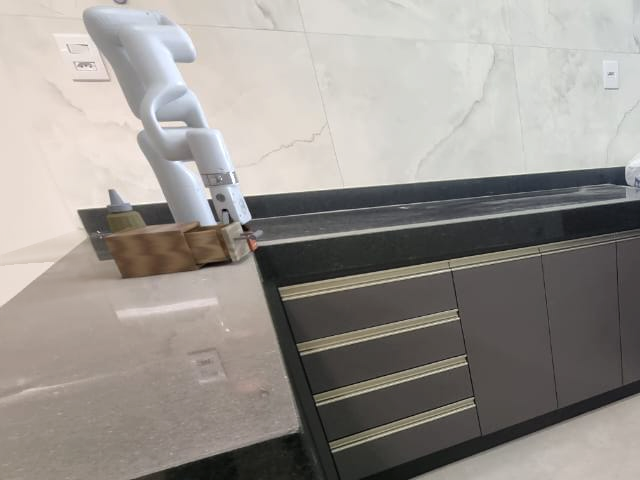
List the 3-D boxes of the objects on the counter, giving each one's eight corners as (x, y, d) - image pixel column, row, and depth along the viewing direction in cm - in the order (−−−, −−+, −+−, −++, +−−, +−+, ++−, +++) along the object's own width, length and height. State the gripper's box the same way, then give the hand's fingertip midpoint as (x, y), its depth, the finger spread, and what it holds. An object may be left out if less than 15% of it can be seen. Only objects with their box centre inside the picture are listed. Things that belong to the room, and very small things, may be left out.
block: (238, 249, 147) (232, 232, 145) (257, 247, 148) (252, 230, 146) (234, 252, 143) (227, 235, 141) (253, 250, 145) (247, 233, 143)
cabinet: (214, 258, 138) (199, 221, 134) (197, 269, 128) (180, 230, 124) (146, 265, 134) (128, 227, 130) (122, 278, 123) (102, 237, 119)
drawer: (271, 248, 142) (261, 219, 138) (260, 258, 132) (249, 226, 129) (189, 257, 136) (177, 227, 133) (172, 268, 126) (158, 235, 123)
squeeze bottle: (139, 264, 136) (106, 191, 128) (115, 263, 137) (80, 192, 130) (170, 256, 143) (140, 186, 135) (146, 255, 144) (115, 187, 137)
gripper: (227, 182, 132) (253, 253, 139) (246, 176, 146) (268, 240, 154) (191, 185, 129) (219, 257, 137) (214, 178, 144) (238, 243, 152)
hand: (245, 247), depth 145 cm, fingers open, 6 cm apart
